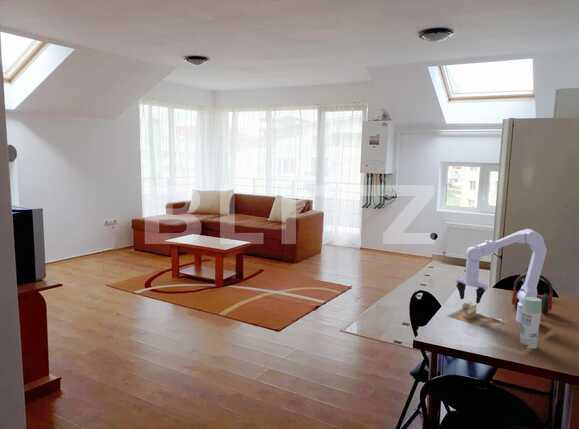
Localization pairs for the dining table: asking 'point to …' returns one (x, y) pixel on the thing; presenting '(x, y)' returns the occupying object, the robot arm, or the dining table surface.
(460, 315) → the walnut board
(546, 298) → the headphones
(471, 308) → the block
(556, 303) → the dining table surface
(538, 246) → the robot arm
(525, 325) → the spray paint can
